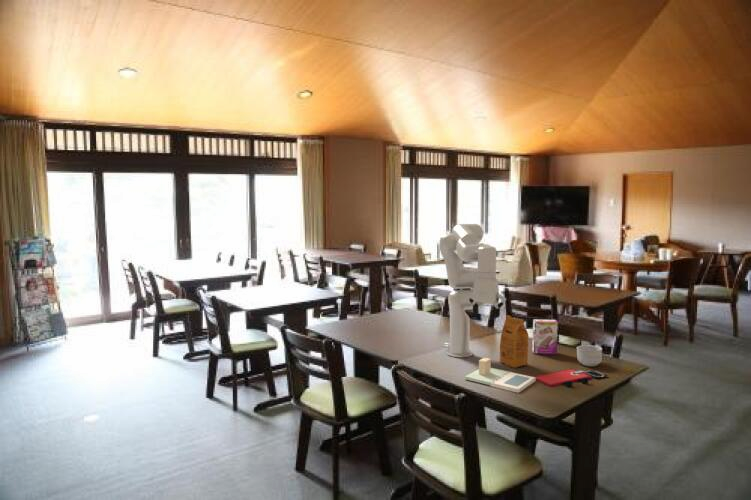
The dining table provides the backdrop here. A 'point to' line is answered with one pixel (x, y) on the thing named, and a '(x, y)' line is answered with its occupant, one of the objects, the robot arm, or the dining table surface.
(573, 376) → the red board with handle
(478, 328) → the dining table surface
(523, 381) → the ticket board
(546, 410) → the dining table surface
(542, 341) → the candy bar box
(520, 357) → the coffee package
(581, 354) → the teacup
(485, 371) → the green board with block
